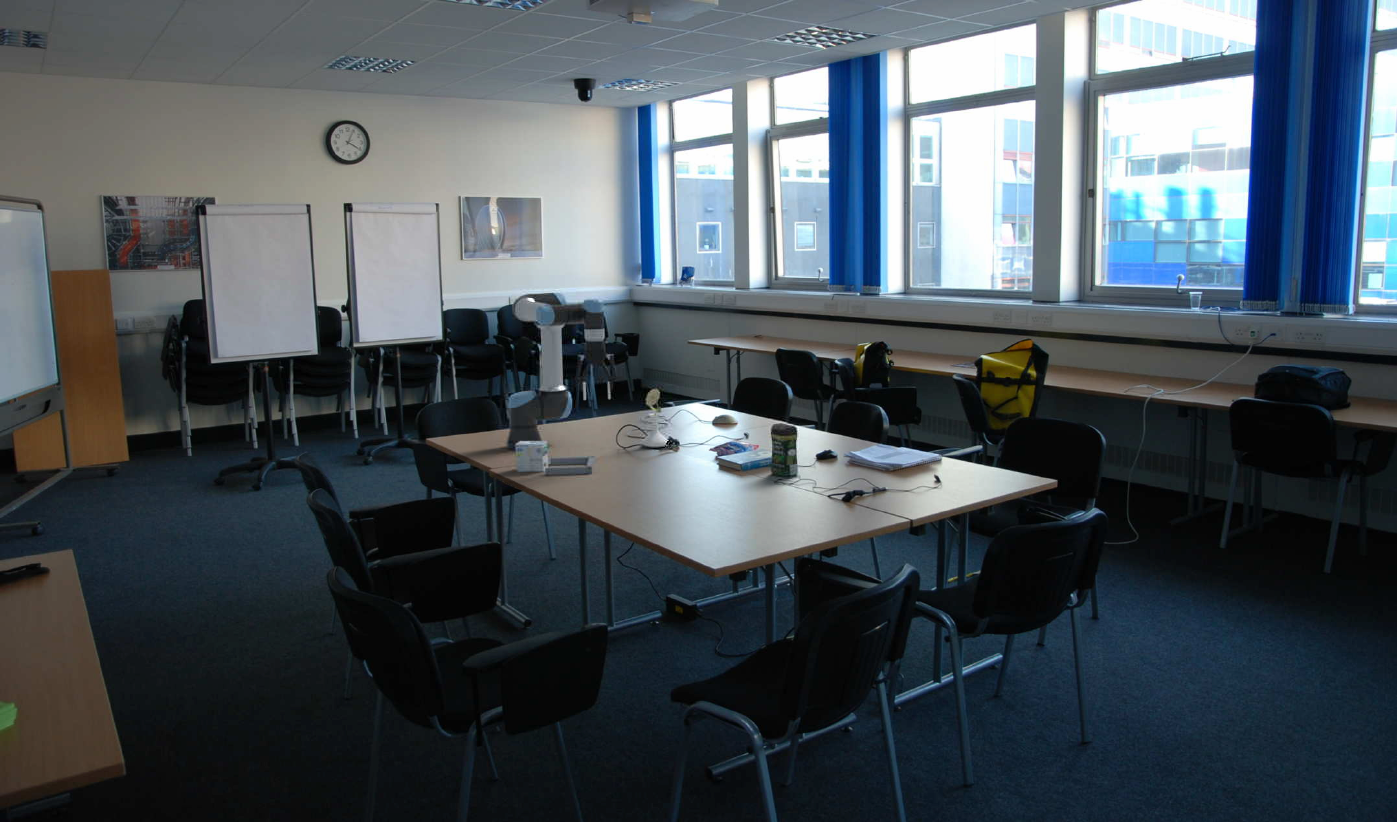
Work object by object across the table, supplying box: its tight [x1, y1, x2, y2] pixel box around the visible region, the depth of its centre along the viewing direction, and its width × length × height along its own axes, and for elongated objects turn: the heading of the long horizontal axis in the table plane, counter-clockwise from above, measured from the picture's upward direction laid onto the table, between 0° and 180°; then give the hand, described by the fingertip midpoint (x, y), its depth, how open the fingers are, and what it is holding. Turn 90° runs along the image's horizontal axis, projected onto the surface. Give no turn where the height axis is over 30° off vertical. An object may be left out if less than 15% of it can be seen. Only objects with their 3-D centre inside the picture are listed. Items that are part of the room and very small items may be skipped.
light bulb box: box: [515, 440, 549, 473], centre depth 367 cm, size 11×7×11 cm, turn 84°
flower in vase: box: [641, 388, 669, 448], centre depth 405 cm, size 13×11×25 cm
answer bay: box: [544, 455, 596, 476], centre depth 368 cm, size 20×17×2 cm
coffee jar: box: [770, 422, 799, 478], centre depth 349 cm, size 10×8×19 cm
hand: (597, 399), depth 372 cm, fingers open, 9 cm apart
